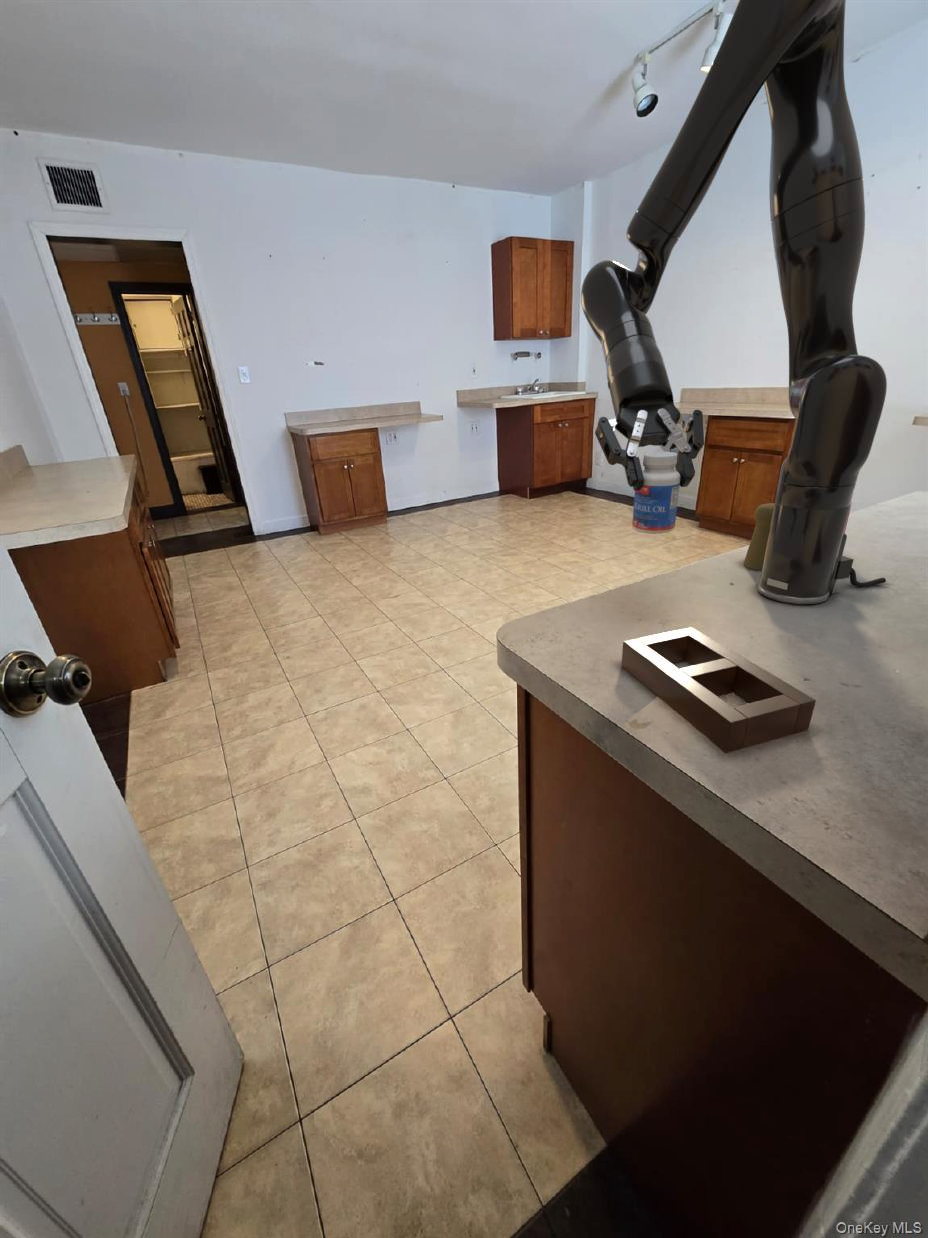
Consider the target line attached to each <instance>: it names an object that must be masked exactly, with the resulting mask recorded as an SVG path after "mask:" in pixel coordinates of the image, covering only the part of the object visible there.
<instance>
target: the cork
mask: <svg viewBox="0 0 928 1238" xmlns="http://www.w3.org/2000/svg"><path fill="white" fill-rule="evenodd" d="M774 504H775V502H773V503H772V502H771V503H763V504H760V505H759V506H757V507H756V509H755V511H754V521H755V522H756V523H755V527H754V530H753V533H752V535H751V539H750V542H749V544H748V548H747V551H746V554H745V557H744V560H743V563H742V564H743V566H744V567H746V568H747V569H749V570H754V571H758V572H759V571H760V572H762V567H763V562H764V557H765V552H766V547H767V541H768V536H769V531H770V526H771V520H772V515H773V510H774Z"/></svg>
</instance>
